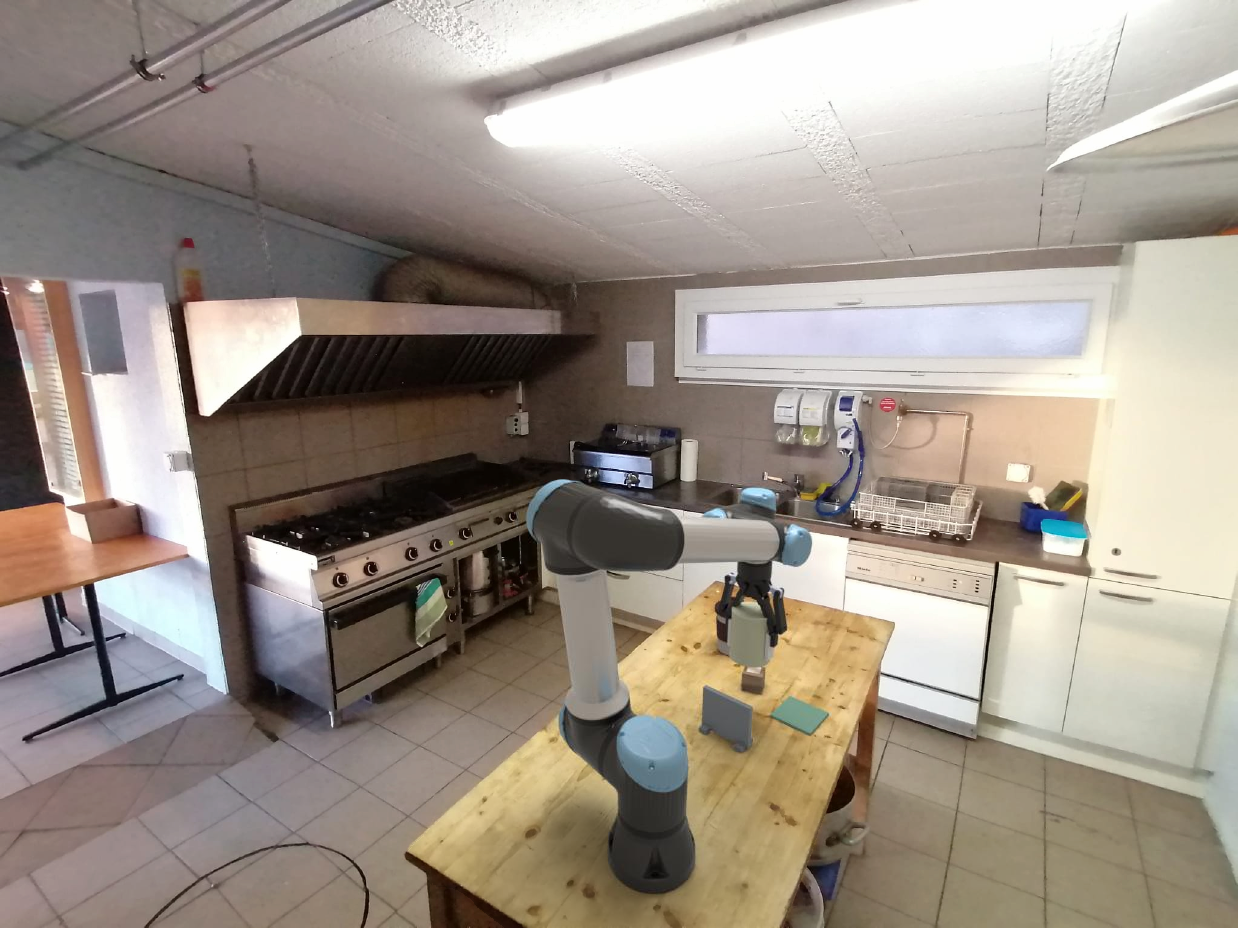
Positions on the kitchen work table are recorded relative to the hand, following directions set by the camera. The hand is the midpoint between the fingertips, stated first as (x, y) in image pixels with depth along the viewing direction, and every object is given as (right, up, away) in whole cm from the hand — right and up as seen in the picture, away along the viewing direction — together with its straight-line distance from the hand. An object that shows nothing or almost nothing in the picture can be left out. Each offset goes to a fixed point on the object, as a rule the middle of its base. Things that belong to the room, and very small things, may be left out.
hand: (749, 650), depth 135 cm
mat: (+13, -17, +4) cm, 21 cm away
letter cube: (+4, -14, +16) cm, 22 cm away
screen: (-6, -18, -3) cm, 20 cm away
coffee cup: (+2, -11, +34) cm, 35 cm away
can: (0, -2, 0) cm, 2 cm away
